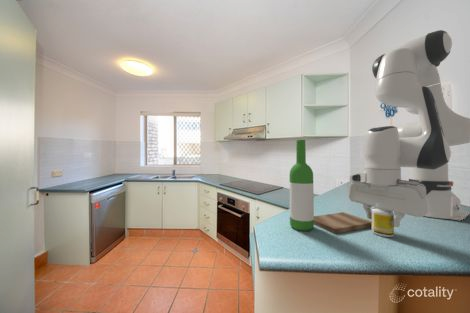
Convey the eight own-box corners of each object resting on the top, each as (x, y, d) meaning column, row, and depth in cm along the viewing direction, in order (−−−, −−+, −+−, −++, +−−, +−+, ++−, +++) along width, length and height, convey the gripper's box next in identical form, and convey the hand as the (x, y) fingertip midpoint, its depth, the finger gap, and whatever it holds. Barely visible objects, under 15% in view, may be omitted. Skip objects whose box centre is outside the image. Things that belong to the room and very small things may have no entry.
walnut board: (343, 215, 74) (343, 212, 74) (374, 226, 62) (374, 222, 62) (307, 221, 68) (307, 217, 68) (334, 233, 57) (334, 229, 57)
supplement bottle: (398, 238, 53) (398, 205, 53) (377, 236, 54) (377, 204, 54) (386, 231, 58) (386, 200, 59) (368, 229, 60) (367, 200, 60)
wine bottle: (307, 222, 66) (306, 141, 66) (318, 231, 58) (317, 138, 59) (286, 223, 66) (285, 141, 66) (294, 232, 58) (294, 138, 58)
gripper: (433, 181, 48) (433, 234, 48) (357, 174, 67) (358, 212, 67) (418, 182, 46) (419, 237, 46) (345, 175, 65) (345, 213, 65)
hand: (382, 222), depth 56 cm, fingers closed on supplement bottle, 5 cm apart
